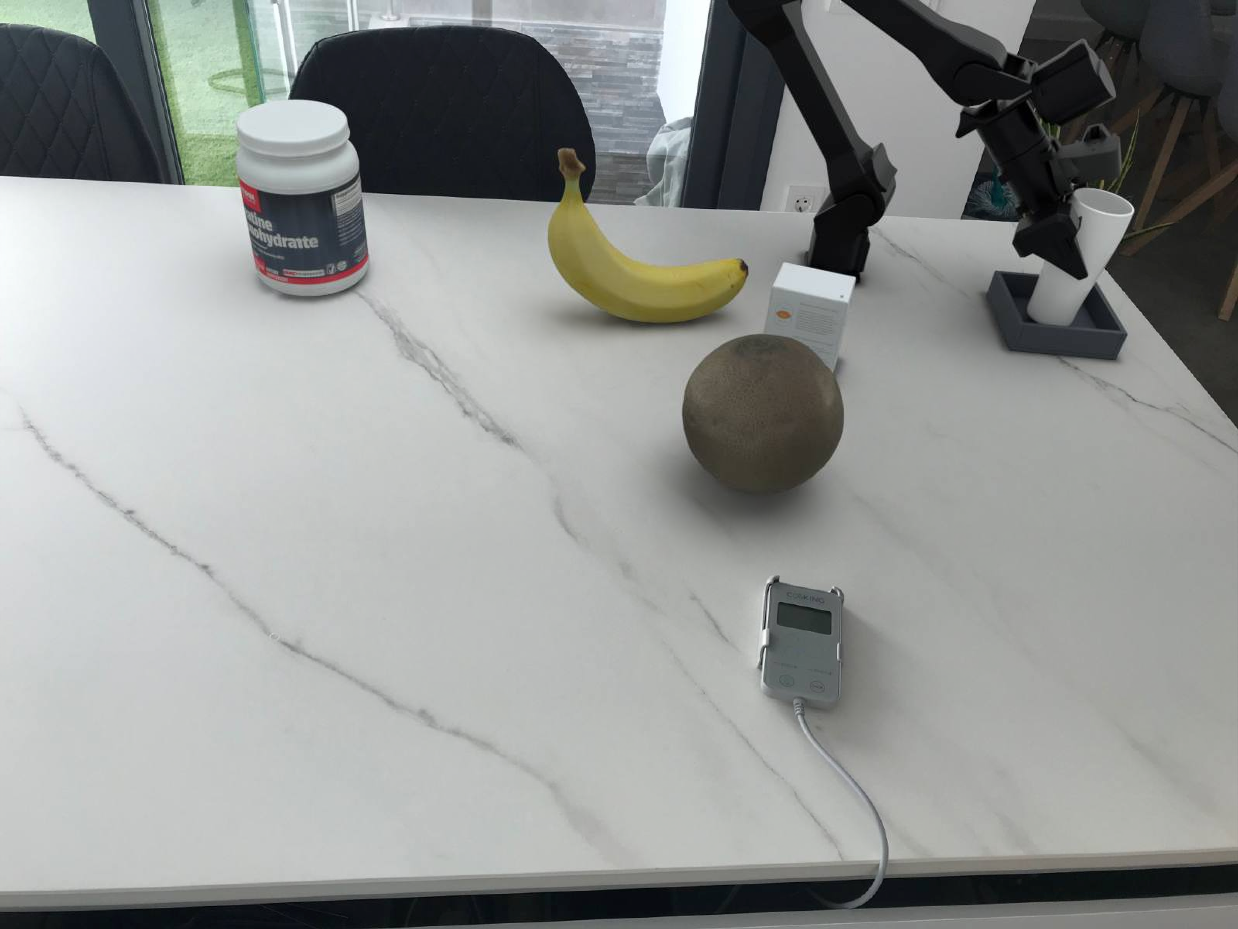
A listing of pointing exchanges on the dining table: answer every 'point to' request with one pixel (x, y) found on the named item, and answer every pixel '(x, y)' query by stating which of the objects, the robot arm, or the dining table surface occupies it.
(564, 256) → the banana
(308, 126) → the supplement tub
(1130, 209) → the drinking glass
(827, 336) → the small box
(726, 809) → the dining table surface
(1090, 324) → the tray
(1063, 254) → the robot arm
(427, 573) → the dining table surface
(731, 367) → the cantaloupe
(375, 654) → the dining table surface
